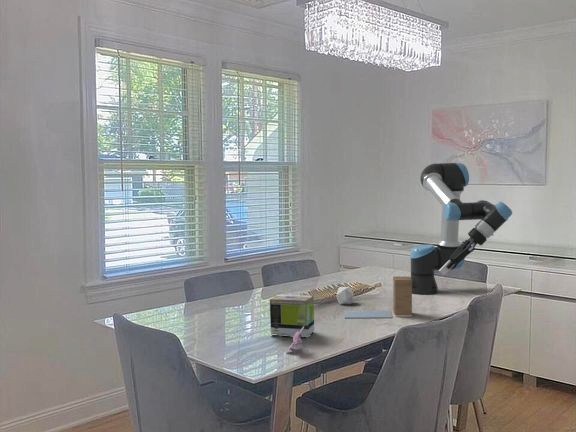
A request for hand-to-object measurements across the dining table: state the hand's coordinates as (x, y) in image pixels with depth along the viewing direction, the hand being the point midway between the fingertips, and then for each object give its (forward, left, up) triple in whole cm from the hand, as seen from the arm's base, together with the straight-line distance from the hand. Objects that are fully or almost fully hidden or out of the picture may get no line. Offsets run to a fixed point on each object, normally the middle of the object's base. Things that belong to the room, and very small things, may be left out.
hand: (441, 273), depth 254 cm
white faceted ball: (-22, -40, -18) cm, 50 cm away
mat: (-1, -31, -18) cm, 36 cm away
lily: (+48, -60, -18) cm, 79 cm away
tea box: (+28, -62, -18) cm, 71 cm away
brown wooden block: (-1, -16, -18) cm, 24 cm away
